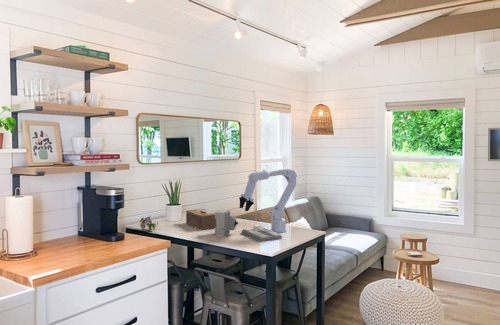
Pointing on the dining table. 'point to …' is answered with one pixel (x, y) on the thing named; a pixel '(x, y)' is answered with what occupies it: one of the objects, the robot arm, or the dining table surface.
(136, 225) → the dining table surface
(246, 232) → the breaker panel
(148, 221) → the passion flower
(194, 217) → the tissue box cover
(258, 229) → the switch
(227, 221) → the circuit breaker
